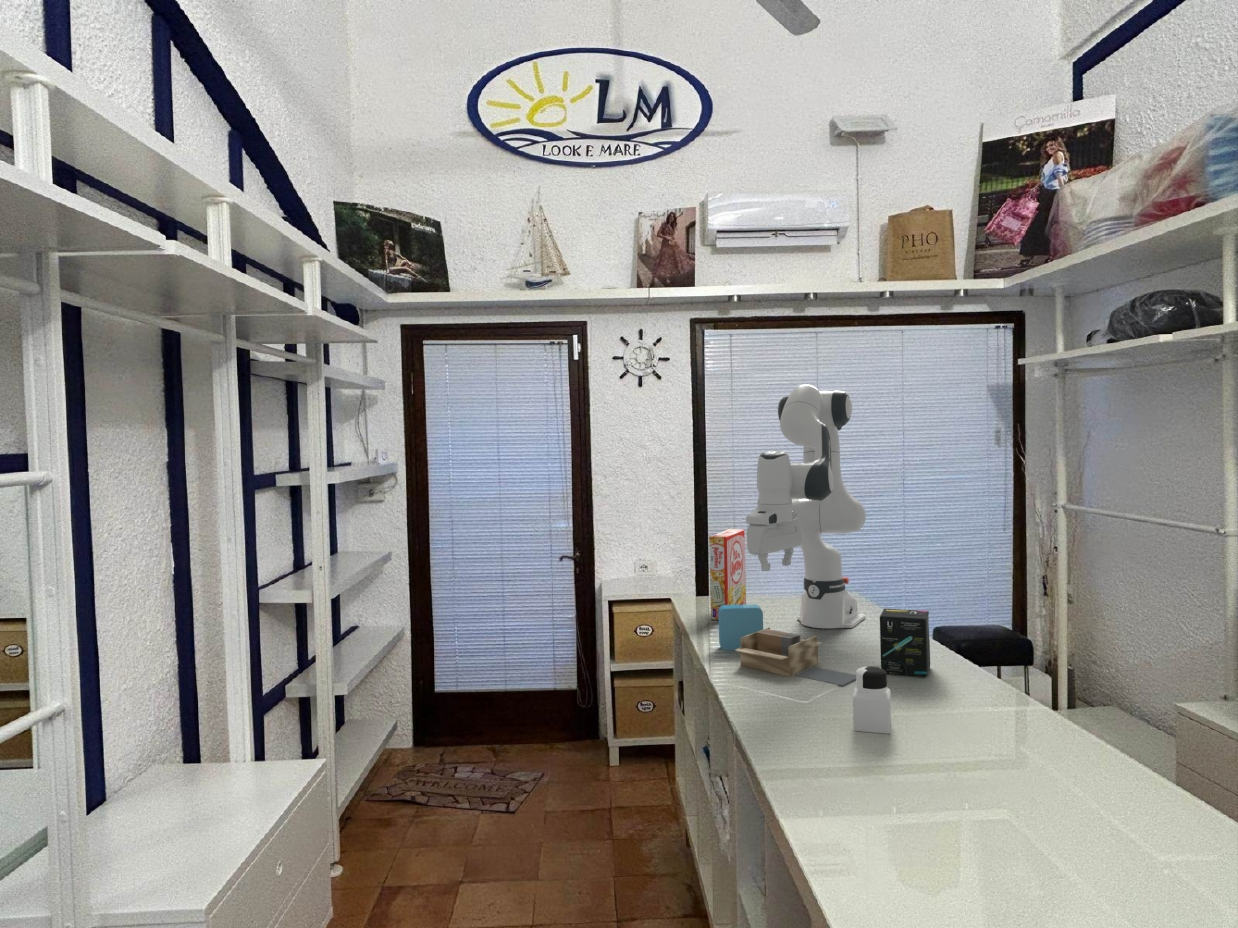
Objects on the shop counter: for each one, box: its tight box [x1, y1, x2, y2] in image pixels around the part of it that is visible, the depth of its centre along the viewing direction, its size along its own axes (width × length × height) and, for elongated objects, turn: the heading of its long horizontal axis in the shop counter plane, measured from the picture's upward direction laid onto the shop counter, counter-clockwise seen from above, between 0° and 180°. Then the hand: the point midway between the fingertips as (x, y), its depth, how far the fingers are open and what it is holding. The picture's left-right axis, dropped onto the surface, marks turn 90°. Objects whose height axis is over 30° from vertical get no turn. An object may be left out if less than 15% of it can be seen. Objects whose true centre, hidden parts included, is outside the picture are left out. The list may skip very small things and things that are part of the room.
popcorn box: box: [708, 528, 747, 621], centre depth 268 cm, size 20×6×27 cm, turn 155°
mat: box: [794, 665, 856, 688], centre depth 199 cm, size 9×13×1 cm
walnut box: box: [757, 628, 801, 657], centre depth 209 cm, size 4×10×8 cm, turn 46°
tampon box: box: [879, 608, 931, 679], centre depth 201 cm, size 11×9×15 cm
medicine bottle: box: [852, 665, 892, 735], centre depth 166 cm, size 7×7×12 cm
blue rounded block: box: [718, 603, 764, 651], centre depth 226 cm, size 12×4×12 cm, turn 87°
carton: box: [734, 627, 822, 677], centre depth 209 cm, size 19×15×8 cm
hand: (776, 567), depth 208 cm, fingers open, 8 cm apart
